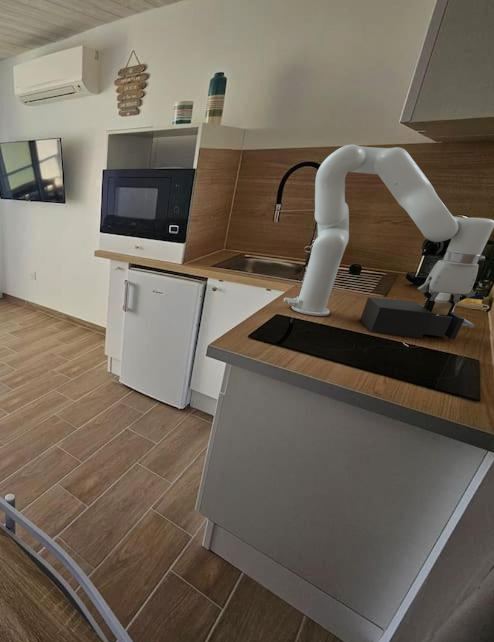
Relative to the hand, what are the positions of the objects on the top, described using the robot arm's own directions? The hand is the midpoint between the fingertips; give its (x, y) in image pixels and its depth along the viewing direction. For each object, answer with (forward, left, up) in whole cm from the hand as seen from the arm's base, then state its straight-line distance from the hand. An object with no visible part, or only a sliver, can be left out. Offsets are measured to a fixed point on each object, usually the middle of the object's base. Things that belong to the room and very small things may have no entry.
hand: (436, 311), depth 124 cm
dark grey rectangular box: (-10, 0, -8) cm, 13 cm away
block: (0, 0, 0) cm, 0 cm away
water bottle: (+8, +15, -8) cm, 19 cm away
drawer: (+1, 0, -7) cm, 7 cm away
